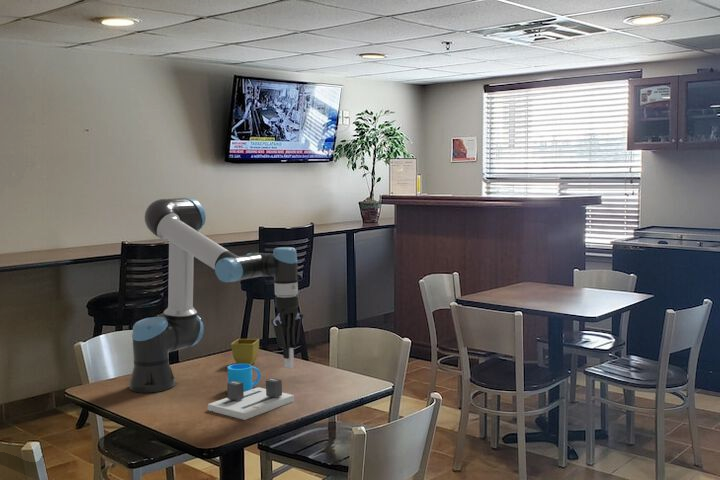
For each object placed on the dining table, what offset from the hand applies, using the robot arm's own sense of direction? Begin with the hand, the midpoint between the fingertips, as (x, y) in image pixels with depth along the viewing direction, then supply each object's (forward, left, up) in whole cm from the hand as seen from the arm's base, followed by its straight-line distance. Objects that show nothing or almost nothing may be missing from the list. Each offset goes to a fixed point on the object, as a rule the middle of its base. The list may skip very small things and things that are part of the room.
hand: (289, 367), depth 241 cm
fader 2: (0, -7, -8) cm, 11 cm away
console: (-4, -13, -10) cm, 17 cm away
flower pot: (-43, +23, -10) cm, 50 cm away
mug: (-19, -1, -10) cm, 22 cm away
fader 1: (-8, -16, -8) cm, 20 cm away
